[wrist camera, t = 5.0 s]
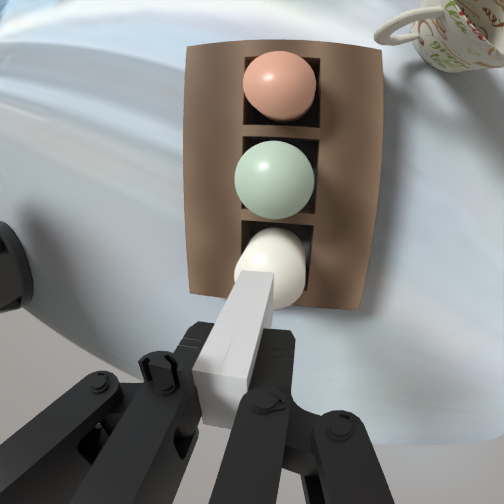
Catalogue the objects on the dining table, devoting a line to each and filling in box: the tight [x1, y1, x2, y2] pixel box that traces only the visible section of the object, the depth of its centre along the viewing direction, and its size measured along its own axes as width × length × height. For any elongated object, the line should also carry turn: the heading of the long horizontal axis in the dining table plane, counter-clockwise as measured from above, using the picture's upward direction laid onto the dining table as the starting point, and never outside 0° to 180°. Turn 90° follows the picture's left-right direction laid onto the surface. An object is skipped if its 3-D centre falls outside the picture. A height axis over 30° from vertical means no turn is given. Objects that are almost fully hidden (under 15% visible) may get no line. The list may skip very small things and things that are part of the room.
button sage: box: [235, 141, 314, 219], centre depth 17 cm, size 4×4×4 cm
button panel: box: [183, 40, 384, 310], centre depth 20 cm, size 14×20×4 cm
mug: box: [374, 0, 504, 73], centre depth 11 cm, size 8×13×10 cm, turn 115°
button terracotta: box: [243, 51, 316, 123], centre depth 16 cm, size 4×4×4 cm
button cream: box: [234, 227, 305, 310], centre depth 19 cm, size 4×4×4 cm
